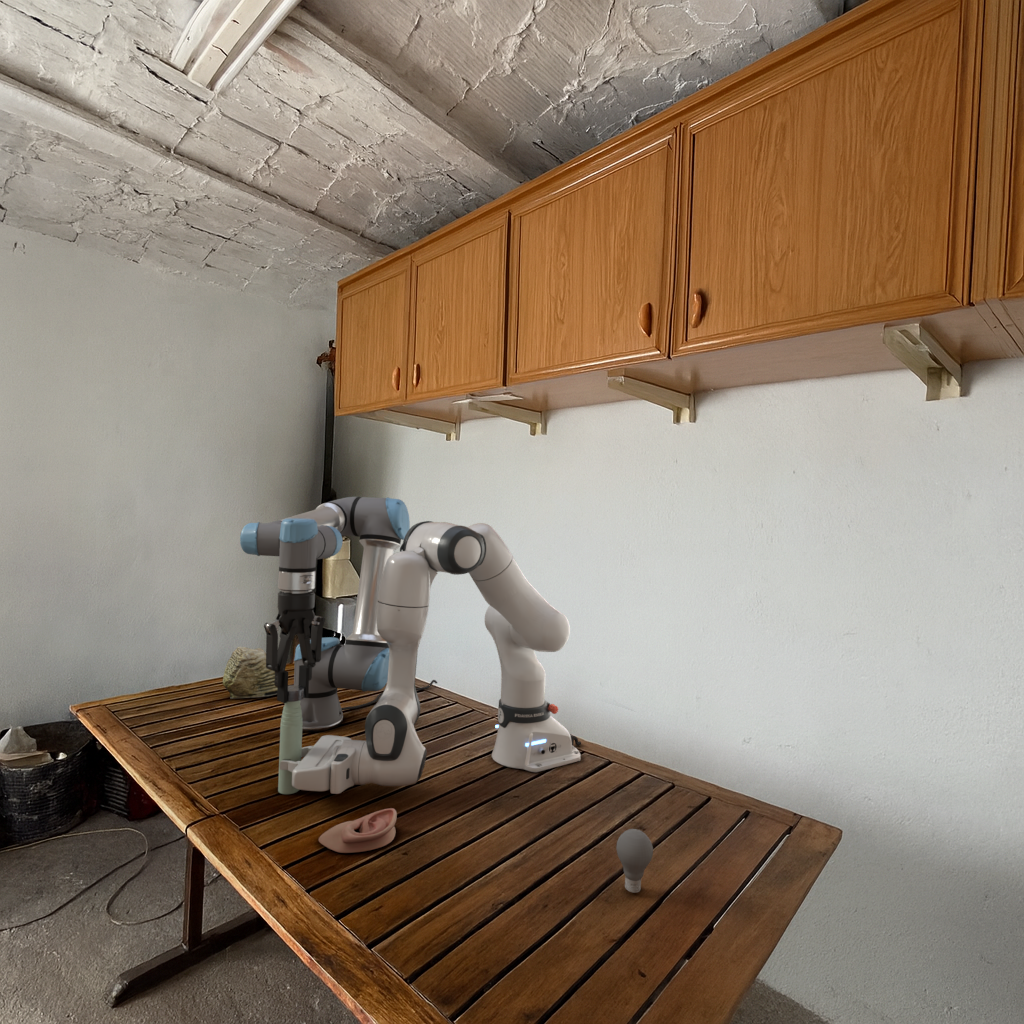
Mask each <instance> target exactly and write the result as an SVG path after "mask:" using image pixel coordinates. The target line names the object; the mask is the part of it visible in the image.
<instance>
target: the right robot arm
mask: <svg viewBox="0 0 1024 1024" xmlns="http://www.w3.org/2000/svg"><path fill="white" fill-rule="evenodd" d="M438 573H445V574H446V573H447V574H450V575H454V576H455V575H457V576H458V575H467V574H469V576H470V577H471V579H472V580H473V582H474V584H475V586H476V588H477V589H478V591H479V593H480V594H481V595H482V597H483V599H484V600H485V602H486V603H487V604H488V605H489V606H488V607H487V608H486V611H485V614H484V626H485V628H486V631H487V632H488V633H489V634H490V636H491V637H492V639H493V642H494V645H495V648H496V651H497V656H498V659H499V665H500V698H499V700H498V707H497V723H498V724H495V726H494V727H495V729H497V731H496V738H495V743H494V746H493V749H492V752H491V758H492V760H493V761H494V762H496V763H497V764H499V765H501V766H503V767H507V768H512V769H518V770H519V769H520V770H525V771H527V772H531V773H539V772H544V771H546V770H550V769H554V768H558V767H561V766H566V765H571V764H573V763H577V762H580V761H581V759H582V757H581V753H580V751H579V749H578V748H577V747H578V746H581V745H582V741H579V738H578V737H577V736H576V735H574V734H572V733H570V732H569V730H568V728H566V727H565V726H564V725H563V724H562V723H561V722H559V721H558V720H556V719H555V718H554V717H553V716H552V715H551V714H553V715H556V714H558V712H559V707H558V706H557V705H555V704H554V703H550V702H549V701H547V700H546V677H547V674H546V670H545V667H544V666H543V664H542V663H541V661H540V660H539V659H538V656H537V654H536V652H539V653H555V652H556V653H557V652H558V651H561V650H562V649H563V648H564V647H565V646H566V644H567V643H568V641H569V638H570V635H571V626H570V621H569V619H568V617H567V616H566V615H565V614H564V613H563V612H561V611H560V610H558V609H556V608H555V607H554V606H553V605H551V603H550V602H548V601H547V600H546V599H545V597H544V596H543V595H542V594H541V593H540V592H539V591H538V590H537V589H536V588H535V587H534V586H533V585H532V583H531V582H529V580H528V579H527V577H526V576H525V575H524V572H523V571H522V569H521V568H520V566H519V564H518V563H517V561H516V559H515V557H514V556H513V553H512V552H511V551H510V548H509V547H508V545H507V544H506V543H505V541H504V540H503V538H502V537H501V536H500V535H499V533H498V532H497V531H496V530H495V529H494V528H493V527H492V525H489V524H488V523H484V522H477V523H474V524H471V525H469V526H466V525H458V524H455V523H452V522H446V521H441V522H440V521H431V520H426V521H425V520H424V521H420V522H417V523H415V524H414V525H412V526H411V527H410V529H409V530H408V532H407V533H406V535H405V538H404V540H402V544H400V547H399V551H397V552H394V554H393V555H391V556H390V557H389V558H388V560H387V562H386V564H385V567H384V571H383V574H382V578H381V582H380V587H379V593H378V601H377V610H376V621H377V631H378V633H379V635H380V636H381V637H382V638H383V639H384V640H385V641H386V642H387V644H388V648H389V666H388V678H387V683H386V685H385V688H384V689H383V690H384V691H383V692H382V693H383V694H382V695H381V696H380V697H379V699H378V700H377V701H376V702H375V704H374V705H373V707H372V708H371V710H370V711H369V713H368V714H367V716H366V717H365V721H364V722H365V723H364V735H365V740H361V739H358V740H357V739H352V738H350V737H348V736H342V735H340V736H339V735H332V734H326V735H322V736H320V738H319V739H318V740H317V741H316V742H315V744H314V745H308V746H304V747H303V746H302V751H301V761H297V762H294V761H291V759H283V760H282V761H281V762H280V769H281V770H288V771H290V772H292V786H293V787H294V788H296V789H299V791H300V790H301V791H309V792H326V791H329V793H330V794H331V795H332V794H333V795H339V794H342V792H344V791H346V790H347V789H349V788H352V787H354V786H355V785H357V786H358V785H360V786H363V785H367V784H374V785H377V786H380V787H381V786H382V787H405V786H406V787H407V786H412V785H415V784H416V783H418V782H419V780H420V779H421V777H422V776H423V772H424V768H425V765H426V761H427V755H428V751H427V748H426V747H425V746H424V744H423V743H422V742H421V740H420V738H419V736H418V733H417V730H416V728H415V725H416V723H417V722H418V720H419V718H420V715H421V702H420V698H419V695H418V691H417V690H416V688H417V687H416V673H417V665H418V653H419V647H420V645H421V641H422V638H423V635H424V631H425V629H426V625H427V620H428V615H429V609H430V599H431V588H432V584H433V582H434V579H435V578H436V576H437V575H438ZM574 744H575V745H576V746H577V747H575V746H574Z"/></svg>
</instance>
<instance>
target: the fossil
mask: <svg viewBox="0 0 1024 1024" xmlns="http://www.w3.org/2000/svg"><path fill="white" fill-rule="evenodd" d="M222 676H223V677H222V685H223V687H224V688H225V690H226V691H228V693H229V698H230V699H250V698H264V697H271V696H275V695H277V687H276V686H275V684H274V681H275V671H272V670H270V669H267V668H266V651H265V650H264V649H263V648H260V647H258V648H251V647H247V646H246V647H245V646H238V647H237V648H236V649H235V650H233V651H232V653H231V656H230V657H229V659H228V660H227V663H226V666H225V668H224V671H223V675H222Z"/></svg>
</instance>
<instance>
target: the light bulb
mask: <svg viewBox="0 0 1024 1024" xmlns="http://www.w3.org/2000/svg"><path fill="white" fill-rule="evenodd" d="M615 849H616V854H617V857H618V859H619V861H620V863H621V865H622V867H623V873H624V874H623V875H624V876H625V878H624V888H625V890H627V891H628V892H630V893H634V894H635V893H639V892H640V891H641V889H642V887H641V886H642V879H643V877H644V875H645V871H646V868H647V867H648V866H649V864H650V863H651V861H652V859H653V855H654V847H653V843H652V841H651V838H649V836H648V835H647V834H646V833H645V832H643V831H642V830H641V829H636V828H629V829H627V830H625V831H623V832H622V833H621V834H620V835H619V837H618V839H617V841H616V847H615Z"/></svg>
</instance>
